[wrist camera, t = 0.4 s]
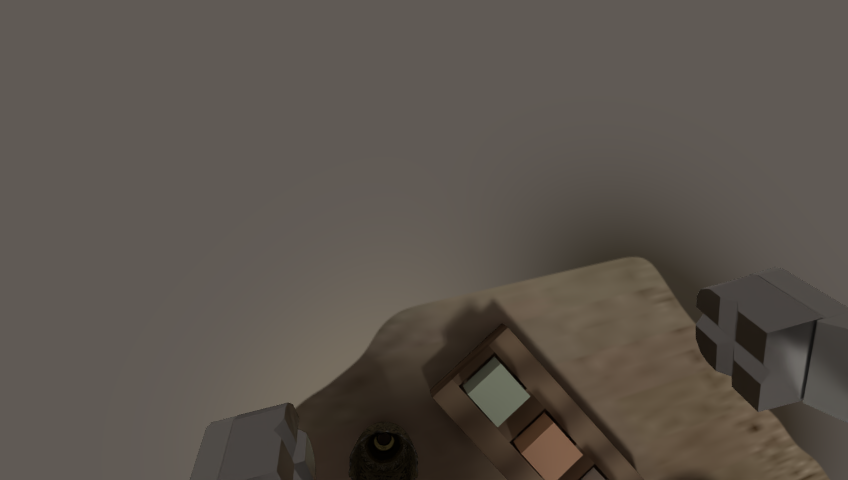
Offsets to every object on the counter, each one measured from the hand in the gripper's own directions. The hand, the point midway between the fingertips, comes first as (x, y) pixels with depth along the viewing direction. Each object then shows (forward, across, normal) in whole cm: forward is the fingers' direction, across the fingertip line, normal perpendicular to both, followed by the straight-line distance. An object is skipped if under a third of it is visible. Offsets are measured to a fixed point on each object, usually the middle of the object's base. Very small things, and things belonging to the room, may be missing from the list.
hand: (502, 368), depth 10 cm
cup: (+38, -10, -40) cm, 56 cm away
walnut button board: (+36, +8, -45) cm, 58 cm away
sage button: (+37, +4, -36) cm, 52 cm away
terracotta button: (+34, +9, -44) cm, 56 cm away
